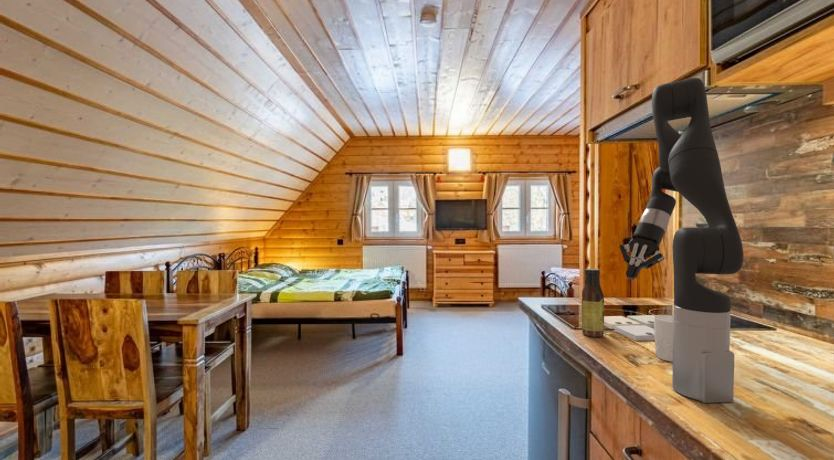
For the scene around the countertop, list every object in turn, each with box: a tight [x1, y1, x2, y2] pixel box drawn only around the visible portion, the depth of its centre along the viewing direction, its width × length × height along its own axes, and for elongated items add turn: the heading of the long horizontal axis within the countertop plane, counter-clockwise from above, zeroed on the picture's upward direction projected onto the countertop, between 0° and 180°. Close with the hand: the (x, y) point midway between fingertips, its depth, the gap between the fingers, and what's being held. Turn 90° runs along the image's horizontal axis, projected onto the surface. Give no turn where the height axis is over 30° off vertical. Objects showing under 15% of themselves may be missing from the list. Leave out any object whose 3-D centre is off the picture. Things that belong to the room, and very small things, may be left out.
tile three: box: [626, 314, 656, 329], centre depth 131 cm, size 10×10×2 cm
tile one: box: [614, 325, 655, 342], centre depth 118 cm, size 10×10×2 cm
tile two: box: [604, 315, 641, 330], centre depth 130 cm, size 10×10×2 cm
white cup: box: [653, 314, 674, 363], centre depth 98 cm, size 8×8×10 cm
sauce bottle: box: [581, 268, 605, 338], centre depth 118 cm, size 7×6×20 cm
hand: (630, 278), depth 117 cm, fingers closed
